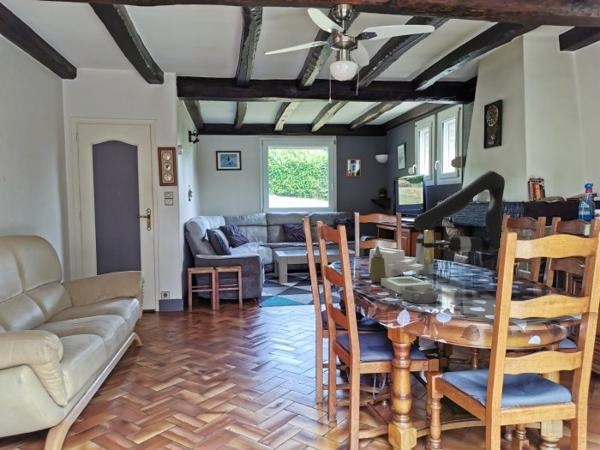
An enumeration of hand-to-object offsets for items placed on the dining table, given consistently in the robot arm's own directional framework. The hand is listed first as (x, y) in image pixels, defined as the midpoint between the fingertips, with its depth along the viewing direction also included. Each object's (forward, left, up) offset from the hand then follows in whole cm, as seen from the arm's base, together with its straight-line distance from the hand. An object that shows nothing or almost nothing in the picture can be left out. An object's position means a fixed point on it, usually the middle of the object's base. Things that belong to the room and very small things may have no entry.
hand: (423, 244), depth 204 cm
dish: (+26, -16, -20) cm, 37 cm away
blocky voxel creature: (-29, 0, -20) cm, 35 cm away
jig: (+3, -11, -20) cm, 23 cm away
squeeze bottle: (-16, -17, -20) cm, 31 cm away
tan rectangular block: (+1, +3, -9) cm, 9 cm away
